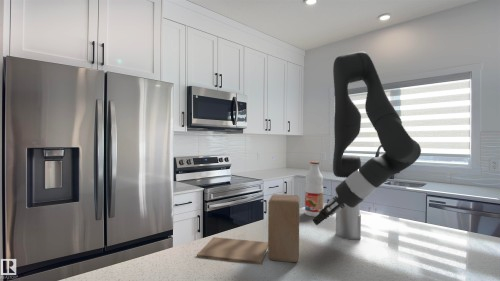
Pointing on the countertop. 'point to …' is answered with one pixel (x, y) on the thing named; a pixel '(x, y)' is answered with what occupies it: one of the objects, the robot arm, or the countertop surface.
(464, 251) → the countertop surface
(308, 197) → the fruit juice
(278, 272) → the countertop surface
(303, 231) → the countertop surface
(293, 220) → the block
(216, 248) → the cutting board
